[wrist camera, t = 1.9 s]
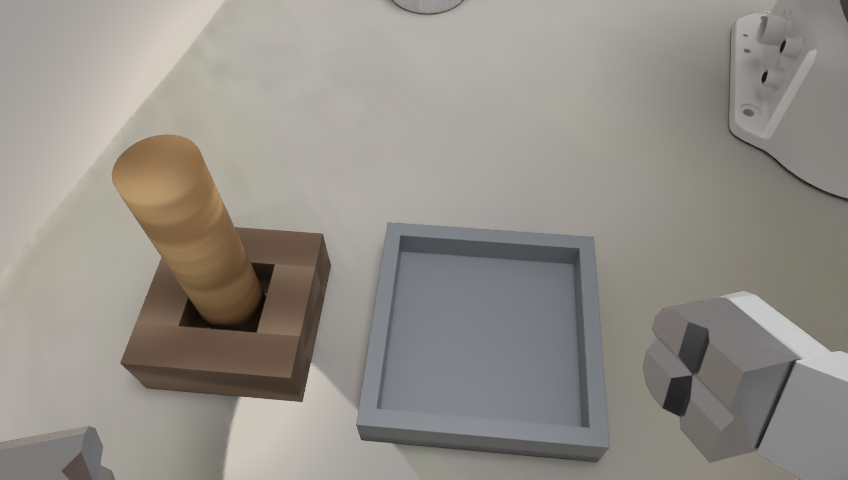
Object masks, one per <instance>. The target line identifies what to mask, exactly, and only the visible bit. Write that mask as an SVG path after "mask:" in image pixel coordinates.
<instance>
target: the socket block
mask: <svg viewBox="0 0 848 480" xmlns="http://www.w3.org/2000/svg"><path fill="white" fill-rule="evenodd" d="M235 230H236V232H237V234H238V236H239V238H240V241H241V243H242V245H243V247H244V249H245V252H246V254H247V256H248V258H249V260H250V263H251V265H252V267H253V269H254V271H255V274H256V276H257V278H258V280H259V282H260V285H261V287H262V289H263V291H264V293H267V296H266V300H265V304H264V307H263V311H262V315H261V319H260V322H259V326H258V330H257V333H255V332H243V331H231V330H219V329H207V326H208V325H207V324H206V322H205V321H204V319H203V318H202V316H201V315H200V313H199V312H198V310H197V309H196V307H195V306H194V304H193V303H192V301H191V300H190V298H189V297H188V295H187V294H186V292H185V291H184V289H183V288H182V287H181V285H180V284H179V282H178V281H177V279H176V278H175V276H174V275H173V273H172V272H171V270H170V269H169V267H168V266H167V264H166V263H165V261H164V260H163V258H161V260H160V263H159V266H158V268H157V271H156V273H155V276H154V278H153V281H152V283H151V286H150V289H149V291H148V294H147V296H146V299H145V301H144V304H143V306H142V309H141V312H140V314H139V317H138V319H137V322H136V324H135V327H134V329H133V332H132V335H131V337H130V340H129V342H128V345H127V347H126V350H125V352H124V355H123V358H122V360H121V364H122V365H123V366H124V367H125V368H126V369H127V370H128V371H129V372H130V373H131V374H132V375H133V376H134V377H135V378H137V379H138V380H139V381H140V382H141V383H142V384H143V385H144V386H145V387H146V388H152V389H163V390H174V391H185V392H197V393H208V394H219V395H230V396H241V397H253V398H264V399H275V400H287V401H298V402H303V397H304V392H305V387H306V382H307V378H308V372H309V367H310V363H311V358H312V353H313V349H314V344H315V339H316V334H317V329H318V325H319V320H320V315H321V310H322V305H323V301H324V296H325V291H326V286H327V281H328V277H329V272H330V267H331V264H330V260H329V257H328V253H327V249H326V245H325V241H324V237H323V234H320V233H306V232H292V231H279V230H265V229H251V228H238V227H235Z"/></svg>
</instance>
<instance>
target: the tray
mask: <svg viewBox="0 0 848 480" xmlns="http://www.w3.org/2000/svg"><path fill="white" fill-rule="evenodd" d="M356 425H357V428H358V432H359V435H360V438H361V440H365V441H376V442H387V443H397V444H408V445H419V446H430V447H441V448H451V449H462V450H473V451H484V452H495V453H506V454H516V455H527V456H538V457H549V458H560V459H571V460H581V461H592V462H597V461H598V460H599V459H600V458H601V457H602V456H603V454H604V453H605V452H606V451H607V450H608V449H609V435H608V422H607V408H606V395H605V381H604V368H603V354H602V341H601V327H600V314H599V300H598V287H597V273H596V260H595V246H594V237H586V236H572V235H558V234H544V233H530V232H516V231H502V230H488V229H474V228H460V227H446V226H432V225H418V224H404V223H390V222H388V223H387V230H386V236H385V243H384V249H383V255H382V262H381V268H380V275H379V281H378V288H377V294H376V301H375V307H374V314H373V320H372V327H371V333H370V340H369V346H368V352H367V359H366V365H365V372H364V378H363V385H362V391H361V398H360V404H359V411H358V417H357V424H356Z"/></svg>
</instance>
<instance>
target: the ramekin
mask: <svg viewBox="0 0 848 480" xmlns="http://www.w3.org/2000/svg"><path fill="white" fill-rule="evenodd" d="M393 1H394V2H395V3H396V4H398V5H399V6H400V7H402V8H404V9H407V10H409V11H413V12H417V13H426V14H430V13H439V12H443V11H447V10H449V9H452V8H453V7H455V6H457V5H458V4H459V3H460V2H461V1H462V0H393Z"/></svg>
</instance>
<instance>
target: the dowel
mask: <svg viewBox="0 0 848 480" xmlns="http://www.w3.org/2000/svg"><path fill="white" fill-rule="evenodd" d="M112 181H113V184H114V186H115V188H116V190H117V191H118V193H119V194H120V196H121V197H122V199H123V200H124V202H125V203H126V205H127V206H128V208H129V209H130V211H131V212H132V213H133V215H134V216H135V218H136V219H137V221H138V222H139V224H140V225H141V227H142V228H143V230H144V231H145V233H146V234H147V236H148V237H149V239H150V240H151V242H152V243H153V245H154V246H155V248H156V249H157V251H158V252H159V254H160V255H161V257H162V258H163V260H164V261H165V263H166V264H167V266H168V267H169V269H170V270H171V272H172V273H173V275H174V276H175V278H176V279H177V281H178V282H179V284H180V285H181V287H182V288H183V289H184V291H185V292H186V294H187V295H188V297H189V298H190V300H191V301H192V303H193V304H194V306H195V307H196V309H197V310H198V312H199V313H200V315H201V316H202V318H203V319H204V321H205V322H206V324H207V325H208V327H209V328H210V329H219V330H231V331H243V332H255V333H257V330H258V326H259V322H260V319H261V315H262V311H263V307H264V304H265V300H266V296H265V293H264V291H263V289H262V287H261V285H260V282H259V280H258V278H257V276H256V274H255V271H254V269H253V267H252V265H251V263H250V260H249V258H248V256H247V254H246V252H245V249H244V247H243V245H242V243H241V241H240V238H239V236H238V234H237V232H236V230H235V227H234V225H233V223H232V221H231V218H230V216H229V214H228V212H227V210H226V207H225V205H224V203H223V201H222V199H221V196H220V194H219V192H218V190H217V188H216V185H215V183H214V181H213V179H212V177H211V174H210V172H209V170H208V168H207V166H206V163H205V161H204V159H203V157H202V155H201V152H200V150H199V148H198V147H197V146H196V145H195V144H194V143H193V142H192V141H190V140H189V139H187V138H184V137H182V136H177V135H158V136H153V137H149V138H146V139H143V140H141V141H139V142H137V143H135V144H134V145H132V146H131V147H129V148H128V149H127V150H126V151H124V152H123V153H122V154H121V156H120V157H119V158H118V159H117V161H116V163H115V165H114V167H113V171H112Z"/></svg>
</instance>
